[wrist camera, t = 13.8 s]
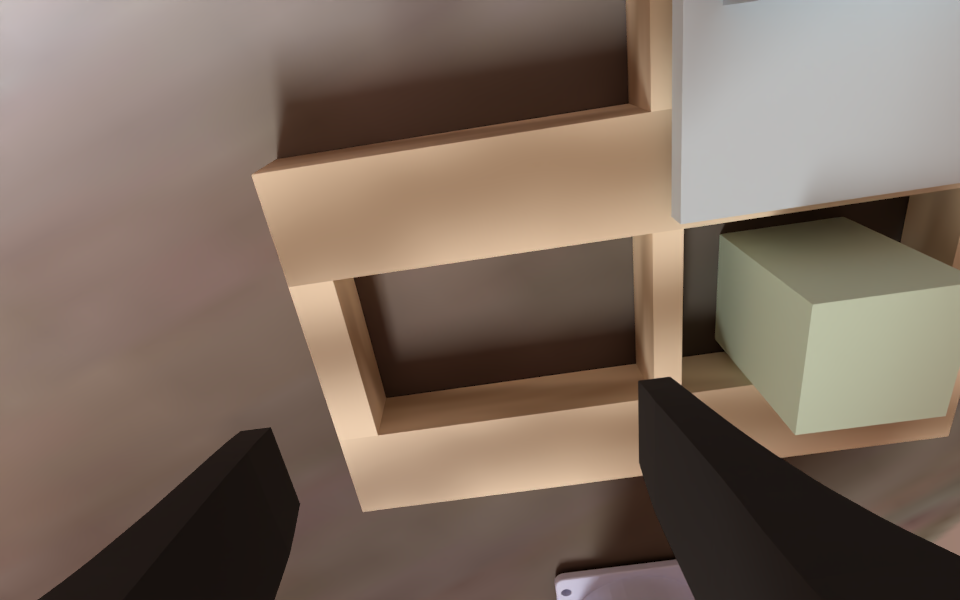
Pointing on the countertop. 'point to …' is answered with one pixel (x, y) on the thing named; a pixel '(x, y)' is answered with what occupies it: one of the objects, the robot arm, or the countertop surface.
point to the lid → (811, 102)
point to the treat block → (839, 324)
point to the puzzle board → (516, 229)
